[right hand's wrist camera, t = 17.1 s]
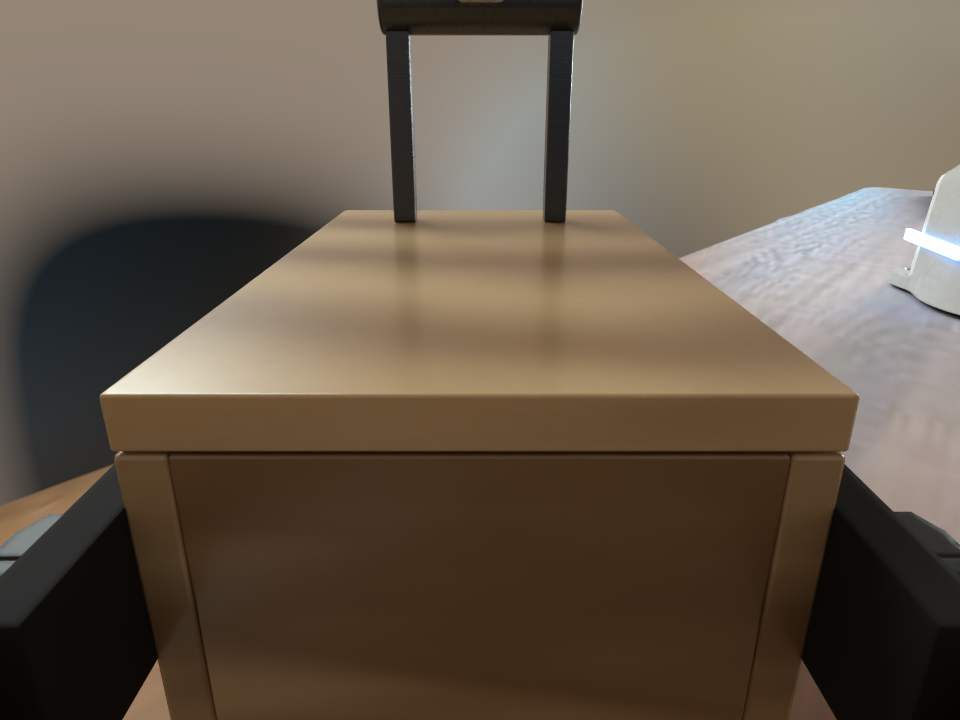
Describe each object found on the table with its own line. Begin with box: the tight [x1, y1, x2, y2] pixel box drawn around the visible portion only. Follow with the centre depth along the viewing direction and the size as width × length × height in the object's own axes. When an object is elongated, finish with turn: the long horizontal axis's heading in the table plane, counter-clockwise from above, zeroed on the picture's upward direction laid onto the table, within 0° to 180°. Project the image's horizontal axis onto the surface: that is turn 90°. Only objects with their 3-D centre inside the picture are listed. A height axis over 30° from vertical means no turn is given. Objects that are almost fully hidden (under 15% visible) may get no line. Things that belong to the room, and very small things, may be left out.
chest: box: [114, 451, 845, 720], centre depth 18 cm, size 16×10×9 cm, turn 0°
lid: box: [100, 0, 859, 451], centre depth 15 cm, size 17×10×8 cm, turn 0°
